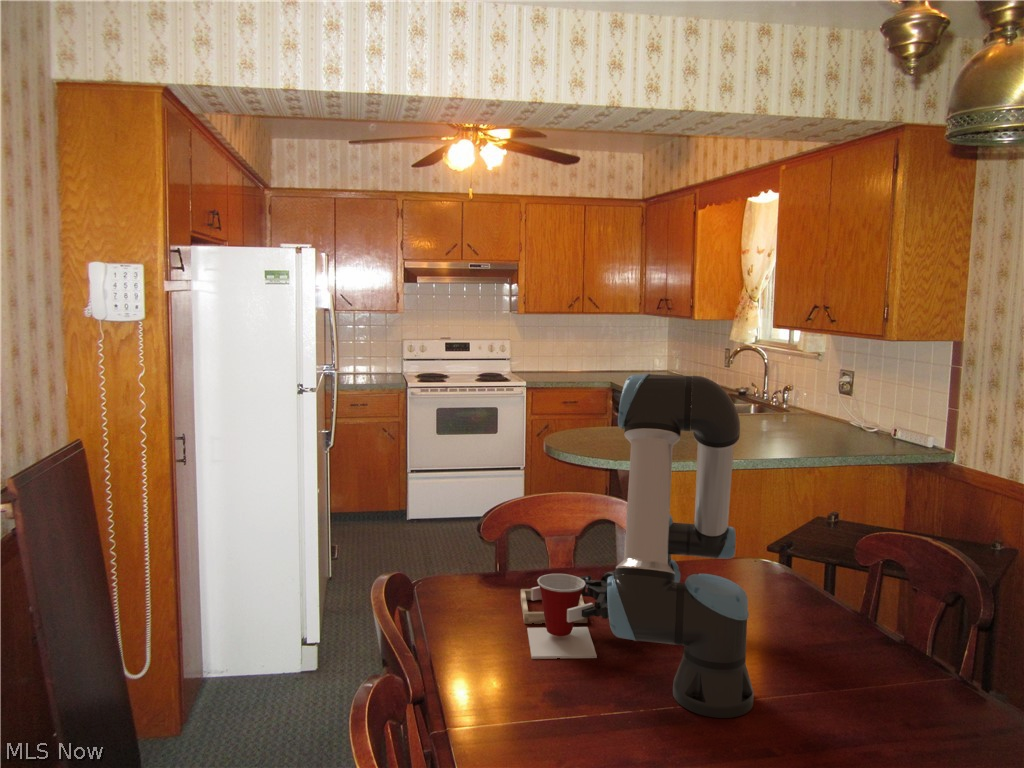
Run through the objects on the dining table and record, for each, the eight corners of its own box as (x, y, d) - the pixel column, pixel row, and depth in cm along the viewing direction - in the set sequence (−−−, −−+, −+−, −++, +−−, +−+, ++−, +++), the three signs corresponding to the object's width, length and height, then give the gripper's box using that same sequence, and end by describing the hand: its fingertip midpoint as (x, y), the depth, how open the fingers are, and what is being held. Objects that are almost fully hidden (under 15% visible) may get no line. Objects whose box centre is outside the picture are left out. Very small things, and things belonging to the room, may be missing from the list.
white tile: (596, 657, 167) (596, 655, 167) (531, 658, 167) (531, 656, 167) (587, 629, 181) (587, 626, 181) (527, 630, 181) (527, 627, 181)
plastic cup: (583, 620, 181) (586, 572, 179) (582, 643, 171) (585, 592, 169) (536, 617, 182) (538, 568, 180) (533, 639, 172) (535, 588, 170)
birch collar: (587, 622, 185) (587, 612, 184) (524, 623, 184) (524, 613, 184) (579, 597, 200) (579, 588, 199) (520, 598, 199) (520, 589, 199)
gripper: (660, 619, 173) (584, 643, 161) (589, 583, 193) (518, 601, 182) (661, 587, 172) (584, 608, 160) (590, 554, 192) (518, 570, 181)
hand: (549, 604), depth 171 cm, fingers open, 13 cm apart
